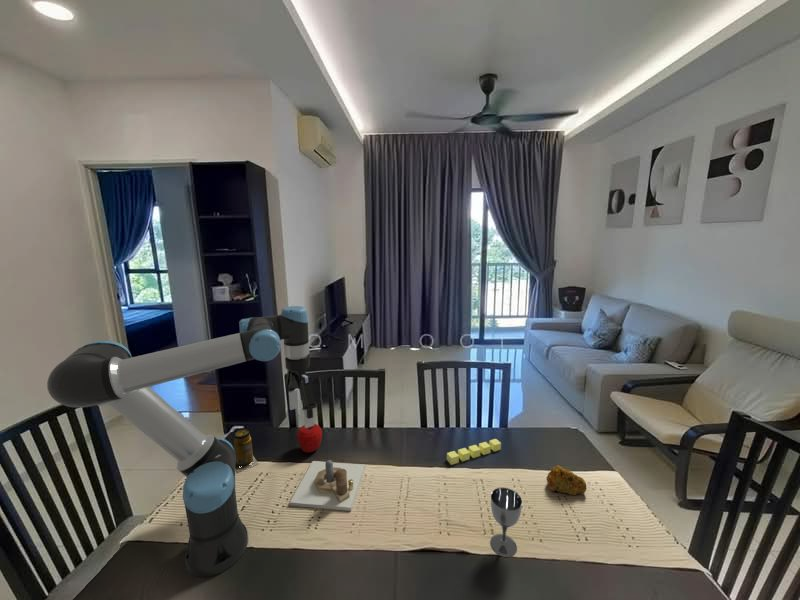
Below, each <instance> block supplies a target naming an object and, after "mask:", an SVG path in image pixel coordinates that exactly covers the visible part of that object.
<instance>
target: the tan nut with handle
mask: <svg viewBox="0 0 800 600" xmlns="http://www.w3.org/2000/svg"><path fill="white" fill-rule="evenodd" d="M333 475H334V477H335V478H336V481H334V482H332V483H326V482H324V480H325V479H326V469H324V470H322V471H320V472H318V474H317V476H316V478H315V480H314V486H315V487H316V489H317V490H318V491H319V493H327V494H334V496H335V497H336V498H337V499H338V501H339V502H342V501H344V500H346V499H348V498H349V497H350V493H349V491H348V490H347V471H346V470H345V469H341V468H335V467H333Z"/></svg>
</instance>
